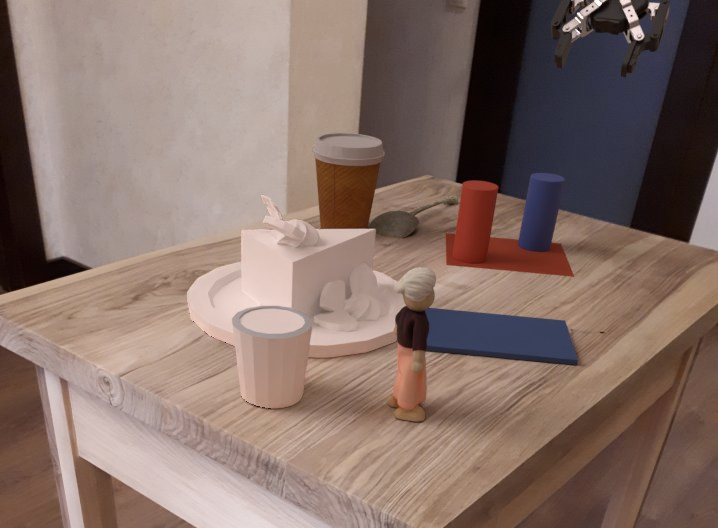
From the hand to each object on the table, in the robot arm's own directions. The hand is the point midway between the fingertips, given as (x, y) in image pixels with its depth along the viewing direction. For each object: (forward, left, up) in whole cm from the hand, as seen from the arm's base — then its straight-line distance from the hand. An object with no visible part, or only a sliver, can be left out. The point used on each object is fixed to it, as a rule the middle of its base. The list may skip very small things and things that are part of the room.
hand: (591, 68), depth 104 cm
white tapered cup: (+32, +58, -21) cm, 70 cm away
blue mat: (+11, +41, -21) cm, 47 cm away
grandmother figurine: (+20, +58, -21) cm, 65 cm away
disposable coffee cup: (+30, +11, -21) cm, 39 cm away
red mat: (+8, +15, -21) cm, 27 cm away
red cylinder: (+13, +18, -20) cm, 30 cm away
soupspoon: (+20, +2, -21) cm, 29 cm away
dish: (+32, +38, -21) cm, 54 cm away
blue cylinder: (+4, +11, -20) cm, 24 cm away
